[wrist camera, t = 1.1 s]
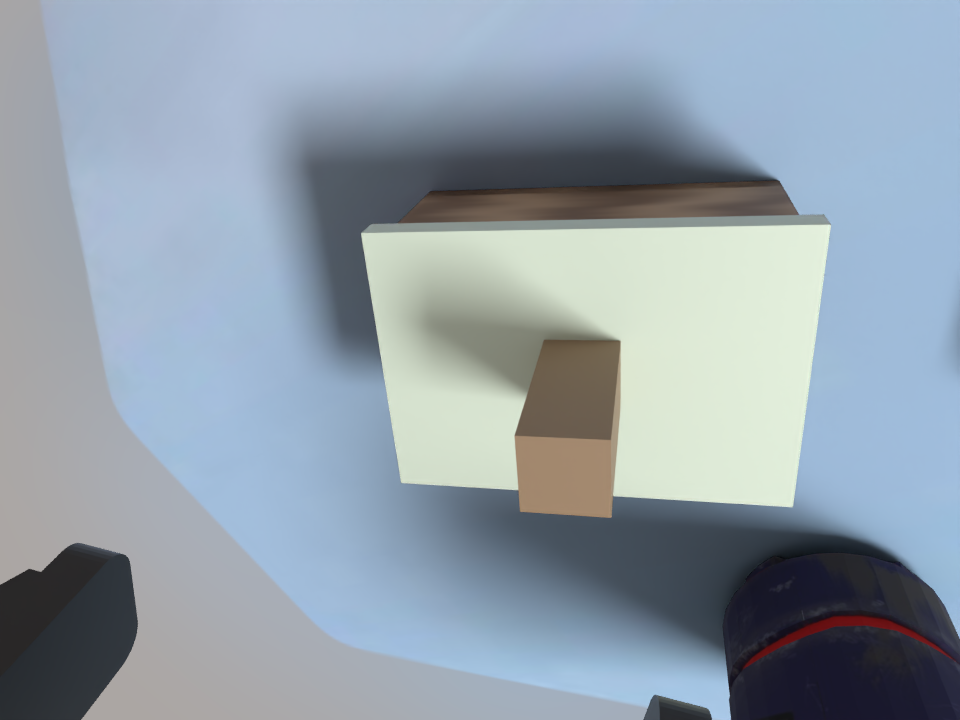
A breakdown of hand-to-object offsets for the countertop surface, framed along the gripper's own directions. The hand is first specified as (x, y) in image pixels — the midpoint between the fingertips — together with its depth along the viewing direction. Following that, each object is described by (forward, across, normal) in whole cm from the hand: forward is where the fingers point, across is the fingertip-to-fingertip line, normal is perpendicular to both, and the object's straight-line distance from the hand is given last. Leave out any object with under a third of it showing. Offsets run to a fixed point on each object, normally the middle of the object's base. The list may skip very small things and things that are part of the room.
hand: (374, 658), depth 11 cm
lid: (+20, -3, +5) cm, 21 cm away
